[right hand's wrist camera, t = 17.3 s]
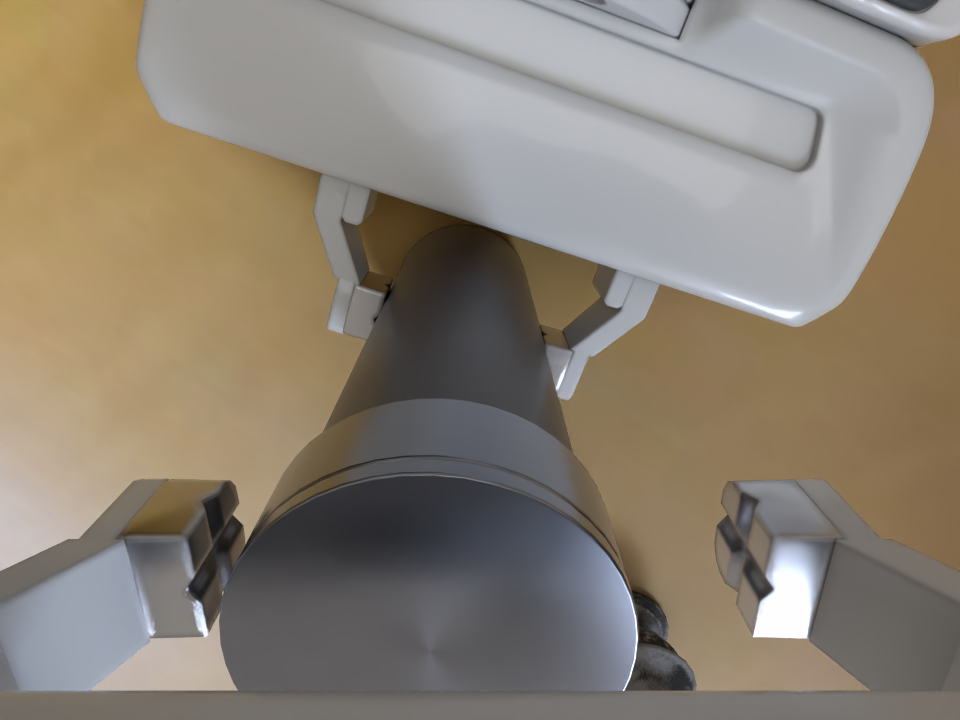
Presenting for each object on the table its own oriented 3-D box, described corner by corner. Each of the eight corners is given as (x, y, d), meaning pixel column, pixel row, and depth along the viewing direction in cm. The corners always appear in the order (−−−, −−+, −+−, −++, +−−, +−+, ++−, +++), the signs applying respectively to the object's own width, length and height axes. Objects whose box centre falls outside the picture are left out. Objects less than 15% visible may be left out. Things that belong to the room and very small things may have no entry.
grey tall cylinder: (409, 355, 26) (300, 747, 10) (388, 233, 24) (212, 485, 8) (532, 342, 26) (615, 722, 10) (521, 217, 24) (601, 445, 8)
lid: (541, 700, 12) (553, 818, 10) (241, 633, 11) (191, 744, 9) (666, 453, 10) (710, 541, 8) (305, 351, 9) (257, 418, 7)
